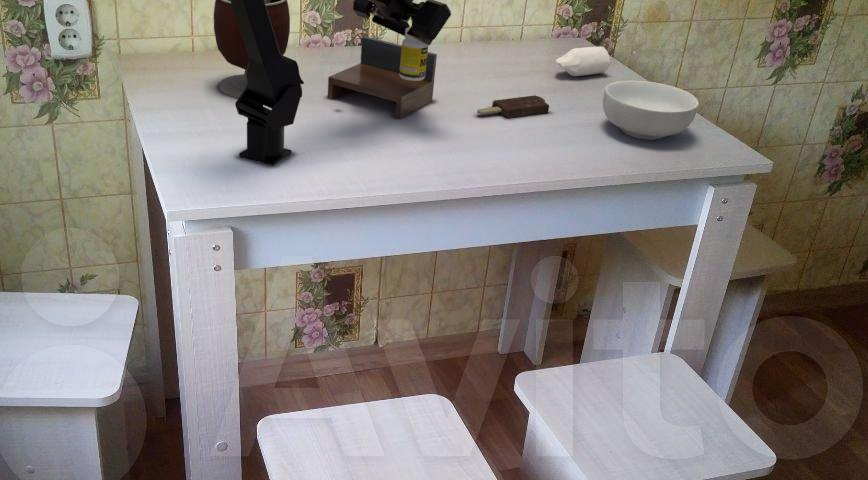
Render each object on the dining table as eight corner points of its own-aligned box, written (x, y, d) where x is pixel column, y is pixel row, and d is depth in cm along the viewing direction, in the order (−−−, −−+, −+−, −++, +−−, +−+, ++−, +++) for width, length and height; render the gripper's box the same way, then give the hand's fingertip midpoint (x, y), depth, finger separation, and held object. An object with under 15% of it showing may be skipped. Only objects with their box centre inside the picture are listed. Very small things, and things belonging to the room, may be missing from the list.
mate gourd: (261, 106, 180) (261, -7, 168) (200, 89, 185) (196, -22, 174) (307, 84, 191) (310, -23, 180) (248, 69, 196) (248, -37, 185)
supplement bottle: (422, 82, 175) (427, 35, 171) (396, 79, 176) (400, 31, 171) (427, 75, 179) (432, 28, 175) (402, 71, 180) (406, 24, 175)
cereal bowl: (705, 149, 175) (715, 111, 171) (617, 150, 173) (625, 111, 169) (666, 115, 189) (675, 78, 185) (584, 115, 186) (591, 78, 182)
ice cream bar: (485, 121, 180) (551, 112, 186) (486, 112, 179) (553, 104, 185) (470, 111, 184) (535, 103, 190) (471, 103, 183) (537, 94, 189)
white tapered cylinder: (544, 73, 205) (548, 47, 202) (589, 68, 210) (594, 41, 207) (562, 83, 201) (566, 55, 198) (607, 77, 206) (612, 50, 203)
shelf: (399, 118, 179) (403, 69, 174) (327, 97, 186) (329, 49, 181) (432, 101, 187) (437, 54, 182) (362, 81, 194) (364, 35, 189)
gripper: (450, -47, 157) (485, 15, 170) (369, -69, 168) (408, -10, 180) (411, 10, 157) (449, 68, 169) (332, -16, 167) (374, 40, 180)
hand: (420, 39), depth 175 cm, fingers closed on supplement bottle, 4 cm apart
